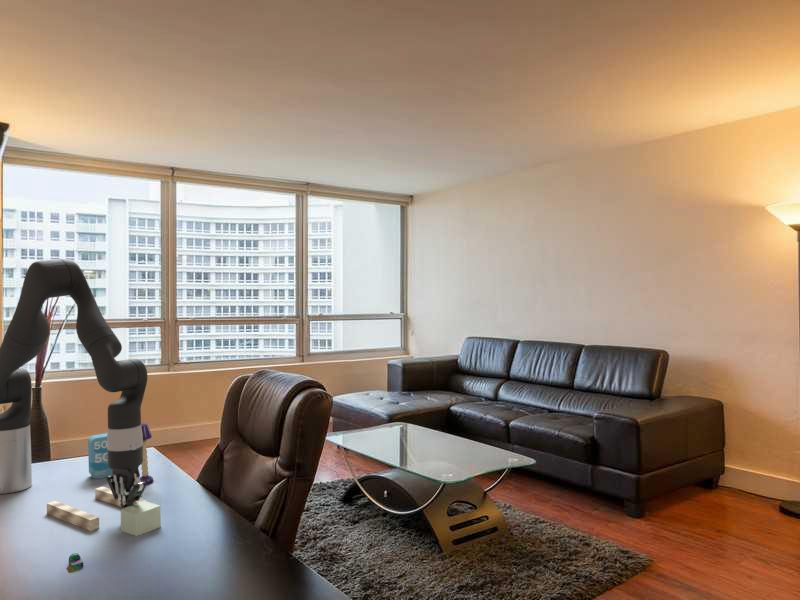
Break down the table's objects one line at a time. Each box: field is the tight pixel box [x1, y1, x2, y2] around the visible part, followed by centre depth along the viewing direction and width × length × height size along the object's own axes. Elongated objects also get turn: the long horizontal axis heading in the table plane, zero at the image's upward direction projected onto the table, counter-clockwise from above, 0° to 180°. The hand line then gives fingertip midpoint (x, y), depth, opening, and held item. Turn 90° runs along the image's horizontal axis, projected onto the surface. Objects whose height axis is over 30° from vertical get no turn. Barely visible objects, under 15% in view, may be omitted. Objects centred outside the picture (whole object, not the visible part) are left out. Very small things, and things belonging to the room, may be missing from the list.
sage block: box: [120, 500, 162, 537], centre depth 131 cm, size 6×6×5 cm
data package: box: [87, 432, 113, 480], centre depth 172 cm, size 12×4×12 cm, turn 128°
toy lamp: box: [139, 423, 154, 486], centre depth 163 cm, size 5×5×17 cm
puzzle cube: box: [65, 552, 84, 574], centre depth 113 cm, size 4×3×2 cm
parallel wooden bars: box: [46, 486, 148, 532], centre depth 142 cm, size 20×14×2 cm
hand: (127, 518), depth 135 cm, fingers closed
